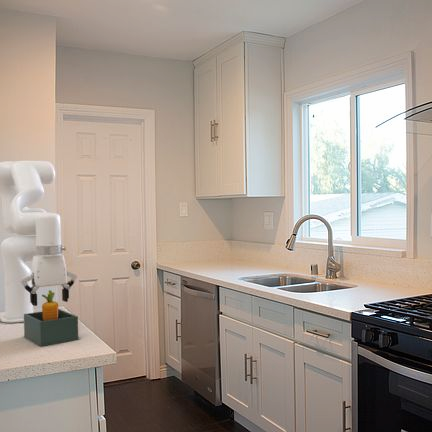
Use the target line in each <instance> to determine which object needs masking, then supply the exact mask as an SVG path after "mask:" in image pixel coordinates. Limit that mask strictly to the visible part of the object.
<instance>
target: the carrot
mask: <svg viewBox="0 0 432 432" xmlns="http://www.w3.org/2000/svg"><path fill="white" fill-rule="evenodd" d="M54 296H55V292H54V291H53V290H51V289H50V290H48V293H47V295H46V294H41V297H43V298H44V299H45V300H46V301H45V302H44V303H42V306H41V312H42V315H43V321H48V320H54V319H58V309H59V303H58V302H57V301H53V299H54Z"/></svg>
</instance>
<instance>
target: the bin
mask: <svg viewBox="0 0 432 432" xmlns="http://www.w3.org/2000/svg"><path fill="white" fill-rule="evenodd" d="M23 331H24V334H23V336H24V338H25V339H27V340H29V341H31V342H33V343H34V344H35V345H38V346H39V347H45V346H51V345H57V344H61V343H68V342H73V341H78V340H79V316H77V315H76V314H74V313H70V312H68V311H66V310H63V309H61V308H58V319H54V320H48V321H43V315H42V311H36V312H33V313H28V314H24V322H23Z"/></svg>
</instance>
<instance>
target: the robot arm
mask: <svg viewBox="0 0 432 432" xmlns="http://www.w3.org/2000/svg"><path fill="white" fill-rule="evenodd" d="M55 179H56V170H55V167H54V165H53V163H52V162H50V161H48V160H28V159H27V160H26V159H25V160H18V161H13V160H12V161H1V162H0V198H1V213H2V223H3V229H4V231H6V232H7V233H9V234H16V235H18V236H11V237H7V238H5V239H3V240H2V241H1V243H0V254H1V259H2V264H3V265H2V266H3V283H4V284H3V285H4V316H1V317H0V322H2V323H9V324H10V323H11V324H15V323H24V314H28V313H34V307H37V306H38V294H37V291H38V289H39V288H44V287H54V286H55V287H56V286H61V287H62V289H61V300H62V301H63V302H65V303H68V301H69V299H70V290H71V288H72V286H74V284H75V281H76V280H77V278H78V277H77V274H74V273H72V272H69V271H67V265H66V259H65V256H64V253H63V252H64V251H66V250H67V249H66V246H63V245H62V224H61V223H62V221H61V216H60V214H59V213H54V212H50V211H46V210H45V209H44V208H42V207H29V206H32V205H34V204H36V203H39V202H40V201H41V200H42V199H43V198H44V196H45V189H44V186H43V185H51V184H53V183H54V181H55ZM25 262H31V268H30V267H29V266H28V265H27V264H26V263H25ZM68 277H69V278H70V279H69V280H68ZM67 281H68V282H67Z"/></svg>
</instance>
